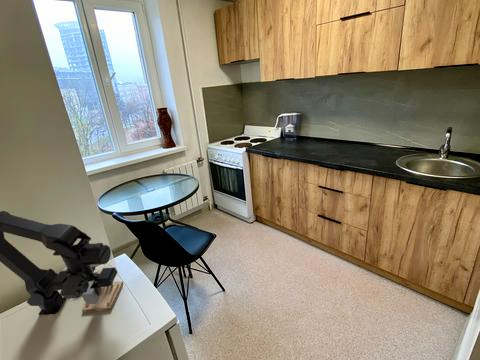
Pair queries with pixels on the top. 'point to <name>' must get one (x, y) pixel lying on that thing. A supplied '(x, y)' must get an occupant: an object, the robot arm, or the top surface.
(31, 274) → the robot arm
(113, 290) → the wooden slotted rack
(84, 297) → the plug block
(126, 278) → the top surface
